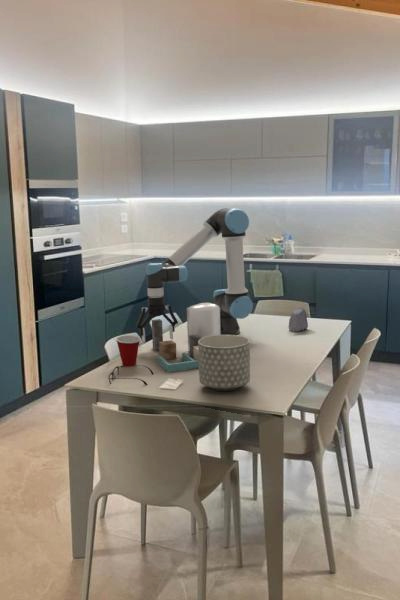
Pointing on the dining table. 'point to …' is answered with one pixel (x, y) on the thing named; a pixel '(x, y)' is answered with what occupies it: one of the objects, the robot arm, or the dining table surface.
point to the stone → (298, 320)
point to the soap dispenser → (203, 320)
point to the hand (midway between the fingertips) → (157, 340)
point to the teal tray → (188, 363)
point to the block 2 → (194, 346)
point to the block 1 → (165, 347)
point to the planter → (224, 361)
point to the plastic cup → (128, 349)
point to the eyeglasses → (125, 378)
